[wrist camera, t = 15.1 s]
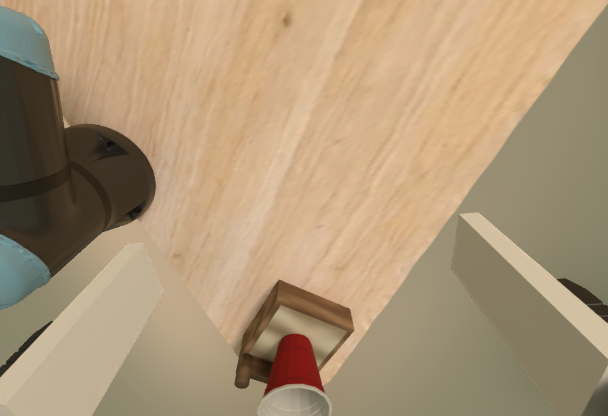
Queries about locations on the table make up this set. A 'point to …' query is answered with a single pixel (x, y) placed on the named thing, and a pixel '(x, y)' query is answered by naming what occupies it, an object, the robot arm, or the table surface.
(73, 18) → the table surface
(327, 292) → the table surface
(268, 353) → the walnut stand
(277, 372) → the plastic cup
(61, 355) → the robot arm
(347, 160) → the table surface
